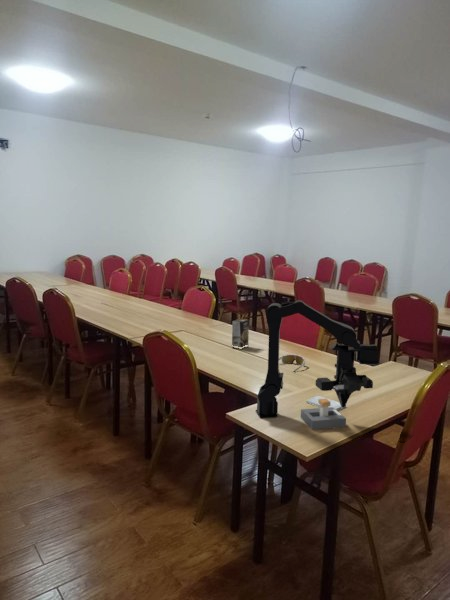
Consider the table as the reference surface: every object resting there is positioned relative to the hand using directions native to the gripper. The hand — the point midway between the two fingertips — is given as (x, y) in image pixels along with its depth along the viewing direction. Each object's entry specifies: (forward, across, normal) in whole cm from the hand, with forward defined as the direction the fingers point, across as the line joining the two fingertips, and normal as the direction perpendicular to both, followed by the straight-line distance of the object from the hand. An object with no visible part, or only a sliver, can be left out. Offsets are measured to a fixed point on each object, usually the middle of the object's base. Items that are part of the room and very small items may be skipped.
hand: (342, 407), depth 149 cm
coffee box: (+5, -10, +108) cm, 109 cm away
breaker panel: (+5, -7, 0) cm, 9 cm away
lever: (+4, -7, 0) cm, 8 cm away
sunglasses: (+6, +5, +66) cm, 66 cm away
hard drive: (+6, +1, +15) cm, 16 cm away
